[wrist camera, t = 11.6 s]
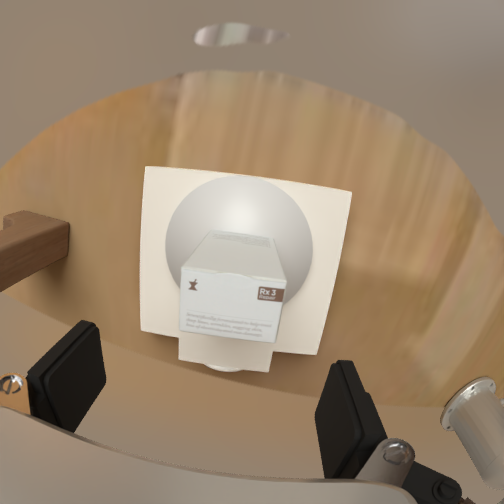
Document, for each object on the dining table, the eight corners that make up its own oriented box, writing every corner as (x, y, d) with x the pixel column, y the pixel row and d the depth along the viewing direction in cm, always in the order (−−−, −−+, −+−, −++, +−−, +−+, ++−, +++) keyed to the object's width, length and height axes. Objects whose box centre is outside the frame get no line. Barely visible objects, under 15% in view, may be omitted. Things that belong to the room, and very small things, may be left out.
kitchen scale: (343, 190, 31) (367, 196, 23) (311, 343, 35) (321, 382, 28) (156, 166, 30) (126, 166, 23) (149, 321, 35) (127, 354, 28)
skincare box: (206, 271, 29) (172, 336, 17) (210, 225, 28) (174, 265, 16) (270, 280, 29) (275, 351, 17) (277, 234, 28) (289, 281, 16)
